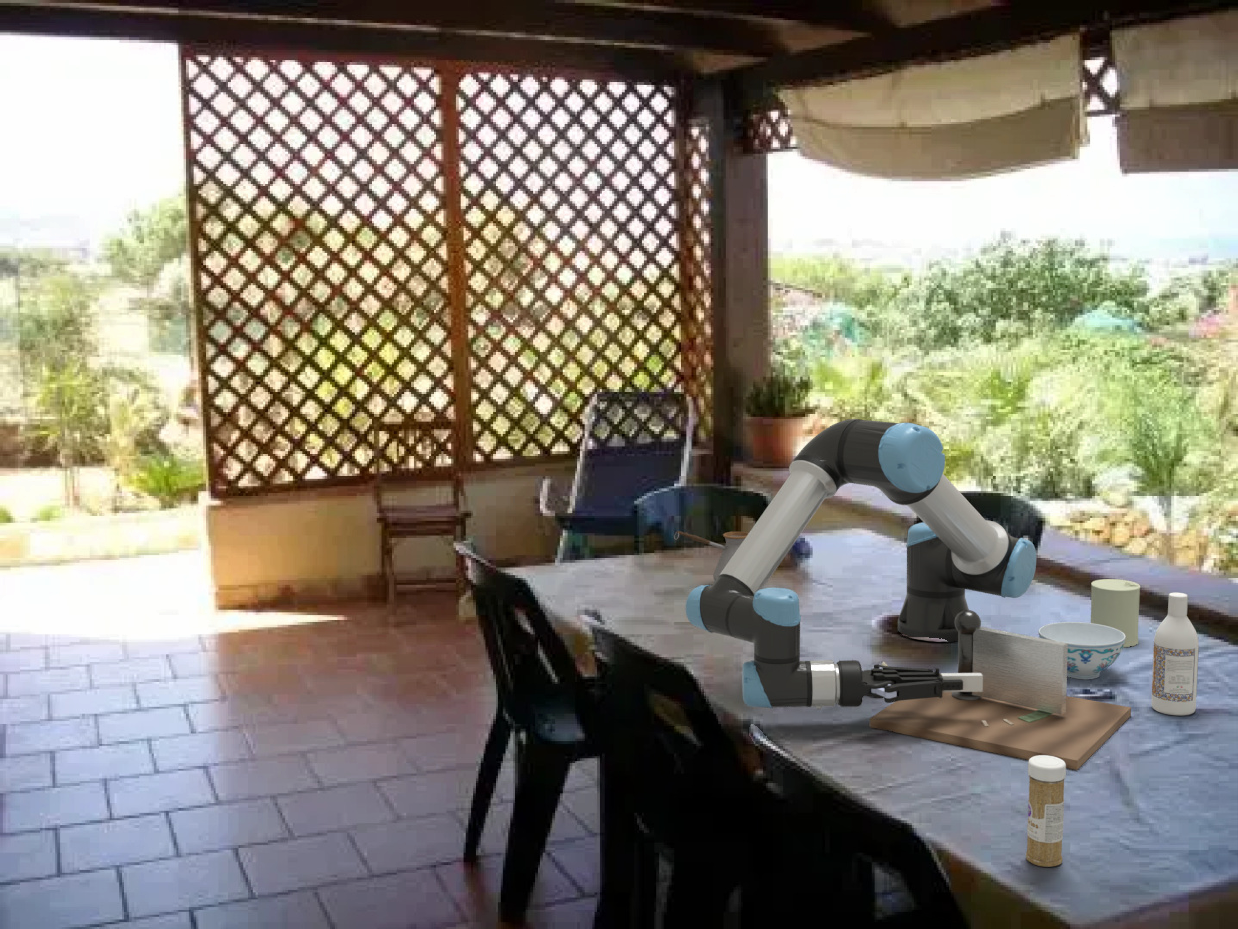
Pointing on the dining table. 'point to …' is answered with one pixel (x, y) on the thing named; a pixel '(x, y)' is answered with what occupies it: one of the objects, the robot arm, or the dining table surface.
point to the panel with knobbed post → (1013, 665)
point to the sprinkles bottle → (1045, 810)
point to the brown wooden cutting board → (1007, 725)
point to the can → (1116, 607)
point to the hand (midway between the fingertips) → (981, 682)
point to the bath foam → (1175, 661)
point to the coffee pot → (721, 547)
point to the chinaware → (1086, 646)
